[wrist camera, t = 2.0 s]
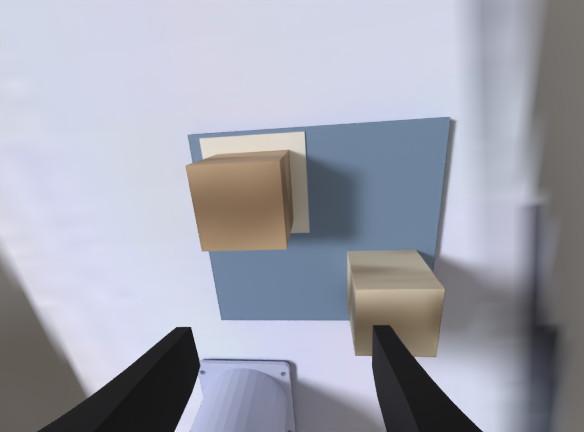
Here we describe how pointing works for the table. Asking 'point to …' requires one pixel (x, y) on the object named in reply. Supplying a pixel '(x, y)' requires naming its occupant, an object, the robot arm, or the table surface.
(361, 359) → the table surface
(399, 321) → the maple block
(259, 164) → the oak block
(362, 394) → the table surface
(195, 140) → the board
